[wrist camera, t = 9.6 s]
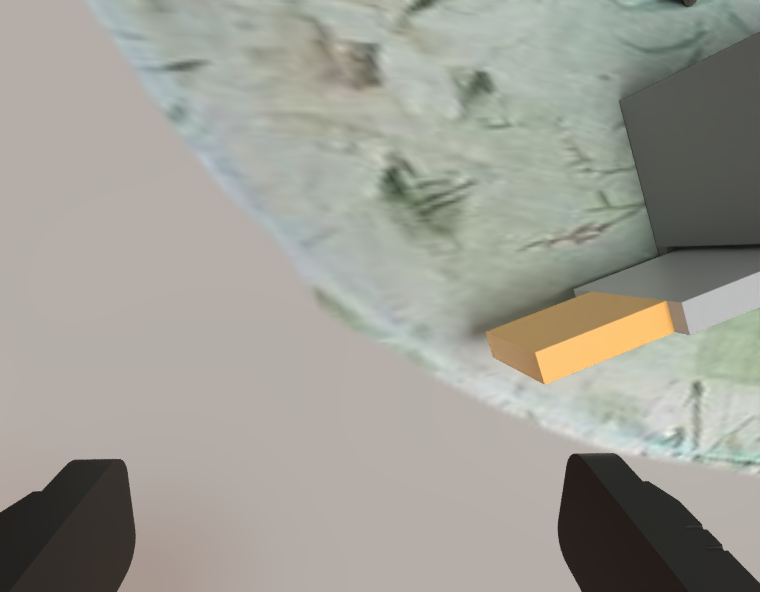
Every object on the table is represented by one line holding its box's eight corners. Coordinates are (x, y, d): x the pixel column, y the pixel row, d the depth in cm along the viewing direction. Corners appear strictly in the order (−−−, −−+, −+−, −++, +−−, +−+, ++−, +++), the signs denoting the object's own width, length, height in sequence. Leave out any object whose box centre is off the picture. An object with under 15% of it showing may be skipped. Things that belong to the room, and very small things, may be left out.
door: (473, 327, 29) (544, 356, 21) (706, 238, 31) (859, 232, 23) (481, 350, 30) (554, 390, 21) (711, 261, 32) (865, 263, 23)
